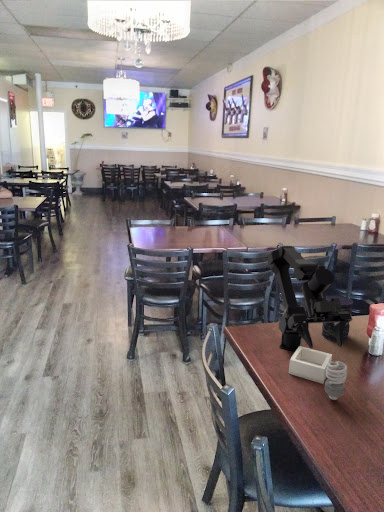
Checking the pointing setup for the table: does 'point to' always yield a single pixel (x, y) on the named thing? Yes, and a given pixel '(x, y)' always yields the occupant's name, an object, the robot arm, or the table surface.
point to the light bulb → (335, 379)
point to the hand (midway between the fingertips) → (326, 347)
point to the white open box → (309, 364)
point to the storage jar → (345, 307)
